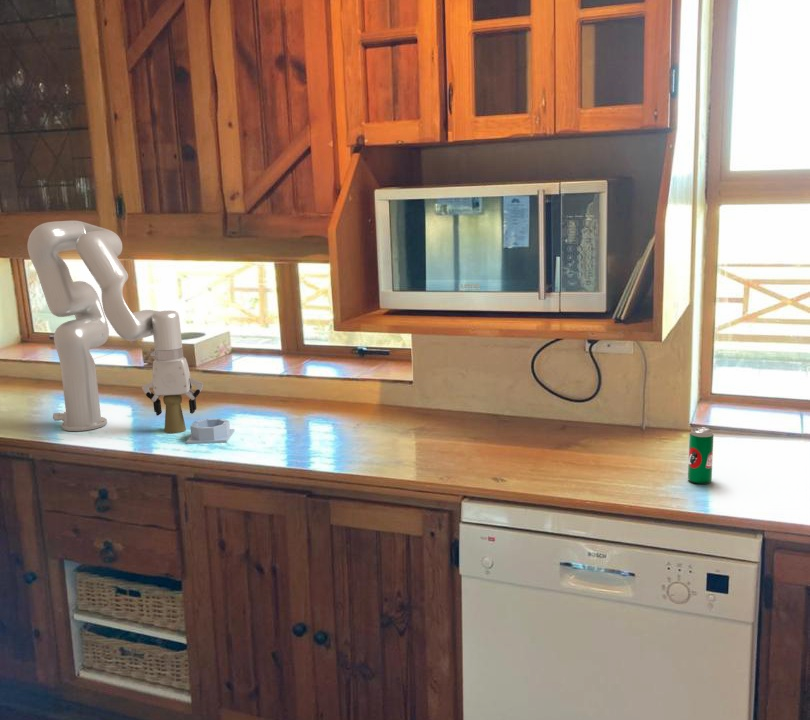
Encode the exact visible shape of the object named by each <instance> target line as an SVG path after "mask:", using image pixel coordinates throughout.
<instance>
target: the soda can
mask: <svg viewBox="0 0 810 720" xmlns="http://www.w3.org/2000/svg"><path fill="white" fill-rule="evenodd" d="M688 437H689V439H688V461H687V462H688V463H687V465H688V466H687V479H688V481H689V482H690V483H693V484H696V485H706V484H710V483H711V481H712V480H713V478H712V476H713V457H714V456H713V454H714V453H713V452H714V433H713V430H712V429H710V428H709V427H702V426H701V427H699V426H697V427H695V426H694V427H693V428H691V431H690V432H689V436H688Z"/></svg>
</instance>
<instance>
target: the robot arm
mask: <svg viewBox="0 0 810 720" xmlns="http://www.w3.org/2000/svg"><path fill="white" fill-rule="evenodd" d="M28 236H29V237H28V238H27V252H28V256H29V258H30V261H31V263H32V265H33V268H34V269H35V272H36V275H37V277H38V280H39V281H38V282H39V284H40V287H41V289H42V292H43V296H44V298H45V302H46V304H47V308H48V309H49V311H50V313H51V314H52V315H53V316H55V317H57V318H66V317H70V316H71V317H72V316H74V317H75V318H74V319H71V320H67V321H65V322H63V323H61V324H60V325H58V327H57V328H56V329H55V331H54V335H53V341H54V346H55V349H56V353H57V356H58V360H59V365H60V373H61V374H60V375H61V379H62V380H61V382H62V390H63V398H64V405H65V407H64V408H65V411H64V412H62V413H61V412H53V414H52V418H53V420H54V421H62V423H61V429H62V430H63V431H69V432H82V431H90V430H91V431H92V430H95V429H99V428H102V427H104V426H106V425H107V424H108V420H107V418H106V417H103V416H101V415H102V414H101V407H100V395H99V386H98V376H97V369H96V363H95V360H94V358H93V355H92V354H91V352H90V350H92V349H95V348H98V347H99V348H100V347H101V346H103V345H104V344H105V343H106V342H107V341H108V340H109V336H110V328H109V324H110V325H111V326H112V327H111V328H112V329H114V331H115V333H116V334H117V335H118V336H119V337H120V338H121V339H123V340H124V341H129V342H133V341H138V340H141V339H143V338H148V337H151V336H153V345H154V350H153V351H150V353H149V355H150V357H154V358H155V359H154V360H153V361H152V380H151V381H150V382H148V383H146V384H145V385H143V386H142V387H141V390H142V391H143V393H144V394H145V396H146V397H147V398H148V399H150V401H151V402H152V403H153V404H152V405H153V410H154V413H155V415H156V416H159V415H161V414H162V402H161V399H160V398H161V397H164V396H169V395H181V396H183V395H186V396H187V397H188V398H189V399H188V406H189V413H190V414H191V415H192V414H194V413H195V412H196V410H197V401H196V400H197V397H198V396H199V394H200V393H202V389H203V387H204V385H205V384H204V383H203V382H202V381H200V380H198V379H195V378H193V377H191V372H190V369H189V364H188V360H187V358H186V357H184V349H183V339H182V331H181V321H180V315H179V313H178V312H177V311H176V310H161V311H159V310H153V309H144V310H139V311H134V312H132V311H131V310H130V308H129V306H128V304H127V303H126V301H125V298H124V292H123V289H124V287H125V283H126V282H127V281H128V279H129V274H128V272H127V270H126V268H125V267H124V266H123V264H122V262H121V260H120V259H119V258H118V257H119V256H120V255H122V251H123V242H122V240H121V238H120V236H119V235H118V234H117V233H115V232H114V231H113V230H111V229H107V228H104V227H101V226H97V225H95V224H91V223H88V222H85V221H80V220H62V221H60V220H57V221H48V222H43V223H40V224H39V225H38V226H36V227H35V228H33V229H32V230H31V232H30V234H29V235H28ZM75 250H76V252H77V254H78V256H79V257H80V259H81V260H82V262H83V263H84V265H85V266H86V268H87V269H88V271H89V272H90V274H91V276H92V277H93V278H94V280H95V281H96V283H97V285H98V286H99V289H100V291H101V300H100V297H99V295H98V293H97V291H96V290H95V287H93V286H92V285H91V284H90V283H88V282H85V281H83V280H82V281H81V280H77V281H73V278H72V276H71V272H70V270H69V267H68V265H67V263H66V262H65V261H64V259H63V258H62V257H61V256H60V255H59V253H60V252H67V251H75ZM108 322H109V324H108ZM193 385H194V386H196V390H195V391H194V390H192V388H193ZM150 388H152V390H153V391H151V390H150Z"/></svg>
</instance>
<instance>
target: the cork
mask: <svg viewBox="0 0 810 720" xmlns="http://www.w3.org/2000/svg"><path fill="white" fill-rule="evenodd" d="M182 396H183V395H169V396H162V397H163V399H162V401H163V404H164V406H165V413H164V414H165V416H164V433H165V434H173V435H174V434H179V433H184V432H186V431H187V427H186V423H185V417H184V413H183V410H182V405H181V404H182V403H183V397H182Z"/></svg>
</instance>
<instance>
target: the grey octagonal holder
mask: <svg viewBox="0 0 810 720" xmlns="http://www.w3.org/2000/svg"><path fill="white" fill-rule="evenodd" d="M234 432H235V428H230V420H228V419H224V418H204V419H201V420H196V421H193V422H192V424H190V437H188V438H187V440H186V441H185V442H186V444H188V445H189V444H213V443H214V444H215V443H216V444H217V443H221V444H222V443H228V442H229V440H230V438H231V437H232V436H233V434H234Z"/></svg>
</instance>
